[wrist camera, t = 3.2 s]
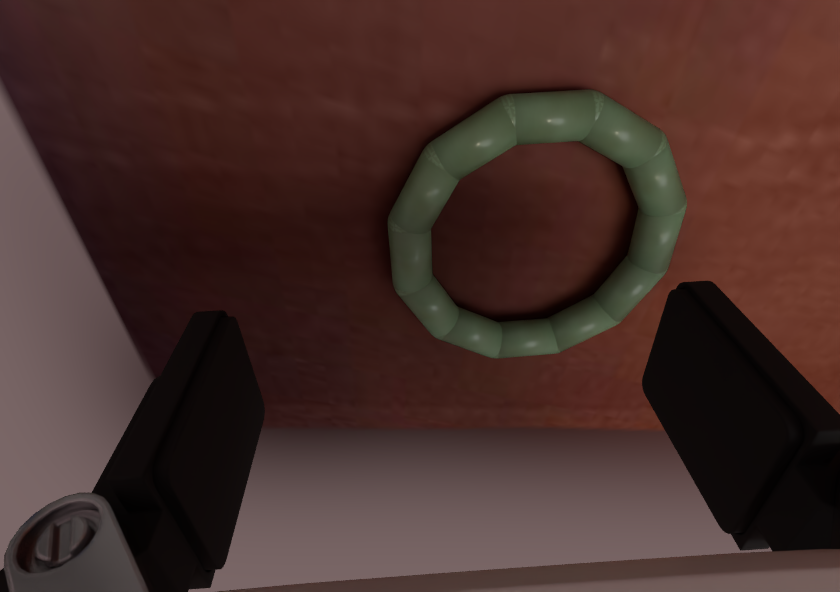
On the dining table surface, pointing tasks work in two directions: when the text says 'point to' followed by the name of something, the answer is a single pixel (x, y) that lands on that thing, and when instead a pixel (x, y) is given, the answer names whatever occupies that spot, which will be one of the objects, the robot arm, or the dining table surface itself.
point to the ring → (490, 137)
